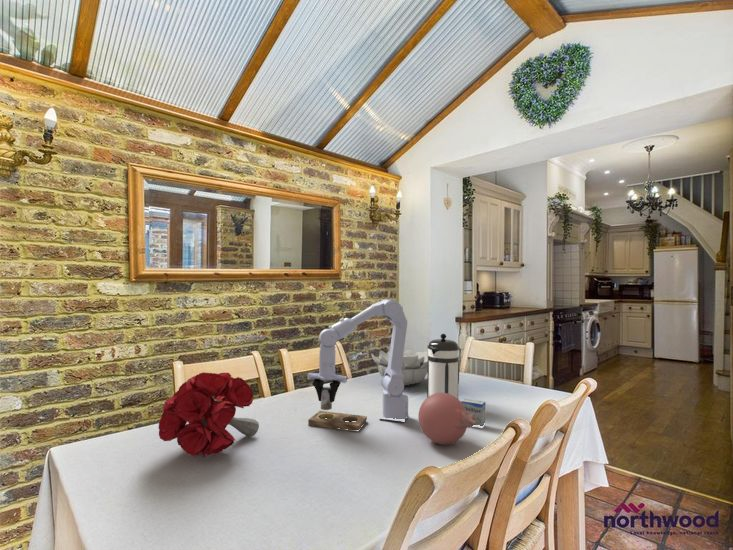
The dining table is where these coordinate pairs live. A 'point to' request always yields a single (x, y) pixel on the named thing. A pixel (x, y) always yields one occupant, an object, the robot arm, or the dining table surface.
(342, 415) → the jig plate
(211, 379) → the bouquet
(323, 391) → the bushing
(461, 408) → the balloon
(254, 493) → the dining table surface
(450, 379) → the coffee press
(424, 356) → the decorative bowl
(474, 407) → the medicine box
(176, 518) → the dining table surface
